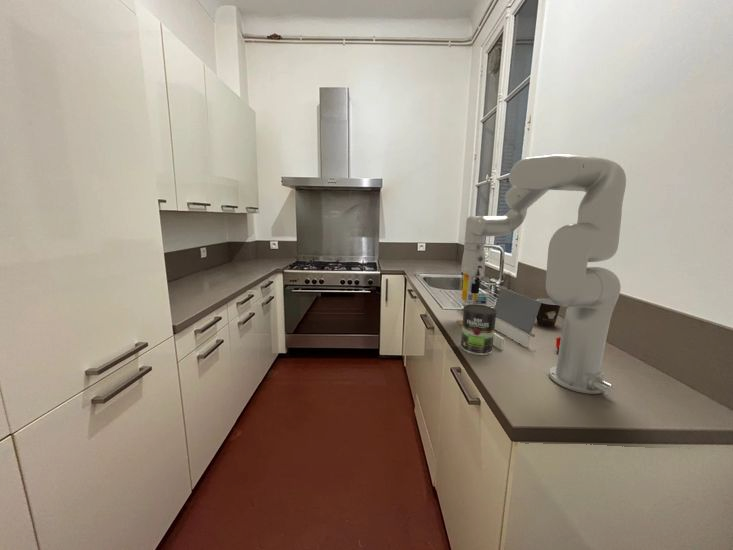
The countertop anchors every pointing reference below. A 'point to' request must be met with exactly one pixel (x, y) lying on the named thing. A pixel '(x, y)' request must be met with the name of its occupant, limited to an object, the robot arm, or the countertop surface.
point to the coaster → (460, 321)
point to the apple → (558, 342)
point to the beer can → (468, 287)
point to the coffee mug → (547, 313)
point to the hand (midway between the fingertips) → (470, 290)
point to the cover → (517, 310)
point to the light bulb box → (480, 298)
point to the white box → (509, 335)
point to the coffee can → (478, 329)
